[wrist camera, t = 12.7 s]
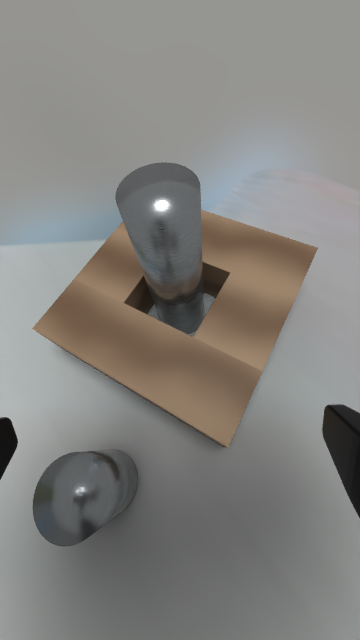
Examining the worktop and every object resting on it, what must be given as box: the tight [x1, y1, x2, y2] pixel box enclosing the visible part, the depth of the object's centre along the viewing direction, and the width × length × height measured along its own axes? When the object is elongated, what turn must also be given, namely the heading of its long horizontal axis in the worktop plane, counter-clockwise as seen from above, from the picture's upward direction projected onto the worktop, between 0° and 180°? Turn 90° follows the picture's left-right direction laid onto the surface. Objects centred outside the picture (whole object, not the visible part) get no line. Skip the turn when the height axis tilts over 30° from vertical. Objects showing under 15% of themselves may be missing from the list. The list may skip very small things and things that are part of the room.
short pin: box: [33, 450, 138, 546], centre depth 16 cm, size 4×4×6 cm
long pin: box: [116, 163, 204, 334], centre depth 18 cm, size 4×4×13 cm
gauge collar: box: [32, 210, 318, 447], centre depth 22 cm, size 16×16×4 cm
